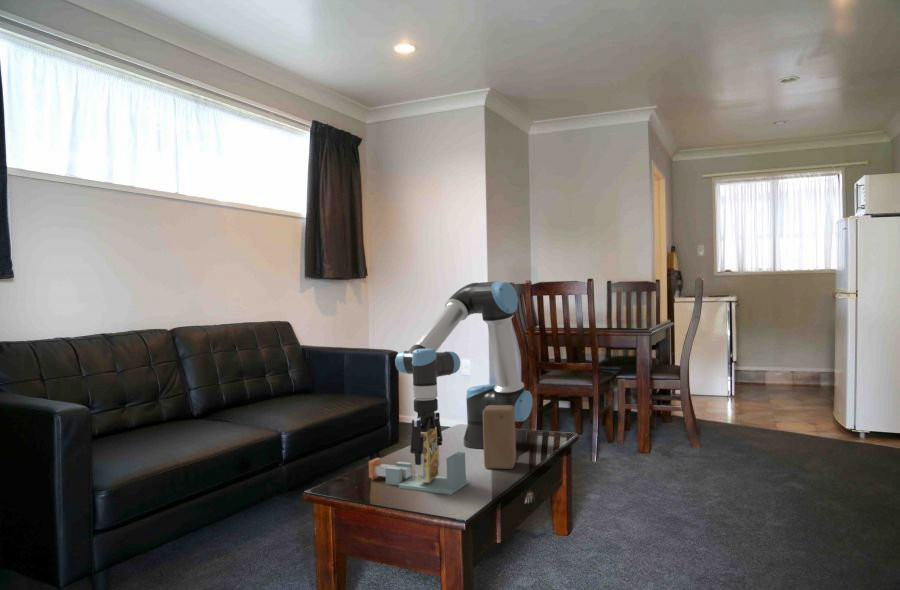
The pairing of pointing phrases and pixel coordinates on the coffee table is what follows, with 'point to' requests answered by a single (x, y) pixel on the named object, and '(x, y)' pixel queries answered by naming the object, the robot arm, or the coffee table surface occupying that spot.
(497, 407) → the wooden block
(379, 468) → the ram
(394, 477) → the press
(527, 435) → the coffee table surface
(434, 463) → the candy box
